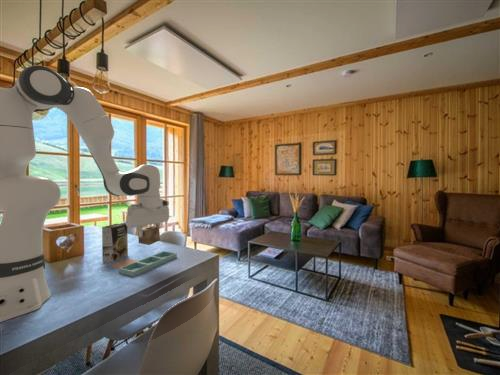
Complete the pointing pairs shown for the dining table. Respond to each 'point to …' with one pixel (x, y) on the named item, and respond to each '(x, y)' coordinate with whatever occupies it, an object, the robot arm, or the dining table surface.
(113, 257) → the coffee box
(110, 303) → the dining table surface
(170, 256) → the tray far
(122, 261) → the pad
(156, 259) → the tray middle
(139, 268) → the tray near
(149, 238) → the letter cube
